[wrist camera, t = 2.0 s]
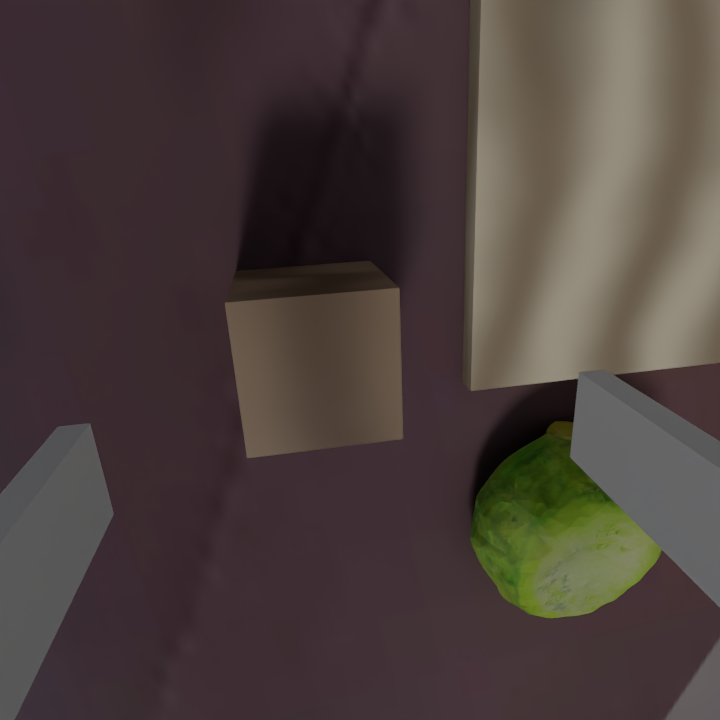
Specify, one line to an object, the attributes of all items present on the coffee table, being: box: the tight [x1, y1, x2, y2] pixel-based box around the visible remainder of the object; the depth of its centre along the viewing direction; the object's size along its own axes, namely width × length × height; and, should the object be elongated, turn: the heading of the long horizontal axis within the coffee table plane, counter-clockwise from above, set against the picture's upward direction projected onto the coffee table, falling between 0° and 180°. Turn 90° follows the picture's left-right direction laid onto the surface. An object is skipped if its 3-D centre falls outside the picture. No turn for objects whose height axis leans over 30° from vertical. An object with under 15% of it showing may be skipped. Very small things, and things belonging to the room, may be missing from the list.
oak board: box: [462, 0, 720, 391], centre depth 24 cm, size 17×17×1 cm
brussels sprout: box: [470, 421, 662, 618], centre depth 28 cm, size 12×11×5 cm
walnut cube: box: [225, 261, 403, 458], centre depth 22 cm, size 6×6×6 cm
